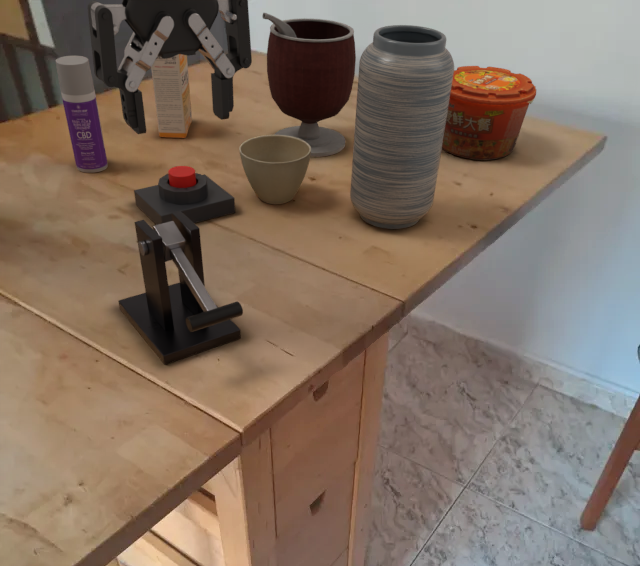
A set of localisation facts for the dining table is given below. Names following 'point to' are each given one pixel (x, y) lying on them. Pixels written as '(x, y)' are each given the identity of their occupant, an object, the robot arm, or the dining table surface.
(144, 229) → the bracket
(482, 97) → the food container
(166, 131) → the supplement box
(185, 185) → the button
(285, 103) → the mate gourd
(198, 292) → the lever
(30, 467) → the dining table surface
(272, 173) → the flower pot
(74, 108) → the container
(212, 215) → the button box
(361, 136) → the vase
